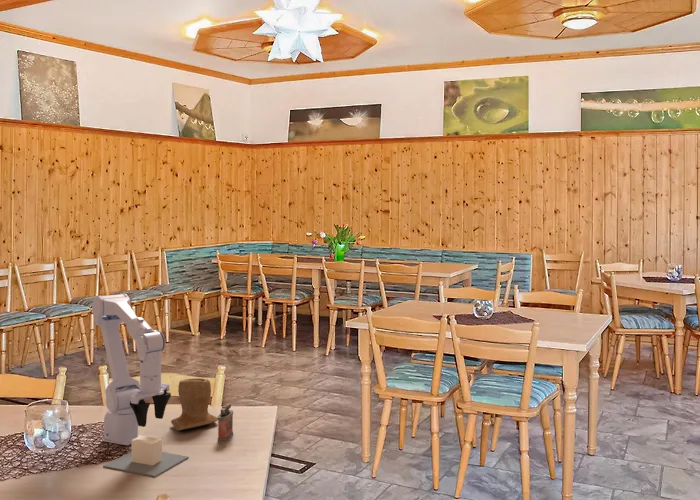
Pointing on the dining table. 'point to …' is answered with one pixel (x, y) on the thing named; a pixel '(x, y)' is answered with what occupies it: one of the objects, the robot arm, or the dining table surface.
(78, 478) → the dining table surface
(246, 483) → the dining table surface
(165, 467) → the slate mat
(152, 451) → the cream block
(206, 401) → the brown bookend
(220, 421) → the red patterned tin
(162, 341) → the robot arm
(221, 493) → the dining table surface
